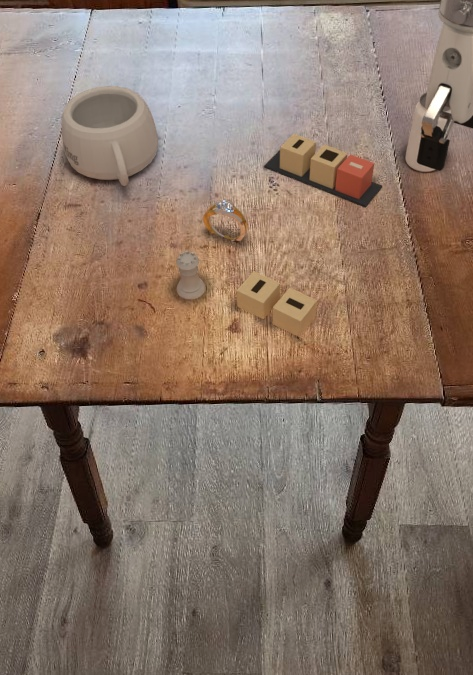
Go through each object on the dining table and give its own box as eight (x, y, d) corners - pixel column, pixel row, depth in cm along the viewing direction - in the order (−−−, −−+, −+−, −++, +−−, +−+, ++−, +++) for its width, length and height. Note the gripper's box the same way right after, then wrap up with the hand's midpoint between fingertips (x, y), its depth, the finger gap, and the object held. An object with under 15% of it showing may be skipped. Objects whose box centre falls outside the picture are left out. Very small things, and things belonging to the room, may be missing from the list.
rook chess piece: (195, 279, 103) (191, 241, 97) (212, 296, 101) (209, 258, 95) (171, 292, 102) (165, 254, 96) (187, 310, 100) (182, 273, 93)
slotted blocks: (359, 338, 95) (363, 316, 91) (339, 368, 92) (342, 346, 89) (241, 282, 103) (240, 259, 99) (219, 308, 100) (217, 285, 96)
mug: (61, 139, 126) (47, 91, 119) (148, 120, 129) (141, 72, 121) (80, 212, 114) (66, 163, 106) (176, 190, 116) (170, 141, 109)
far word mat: (382, 187, 115) (386, 163, 111) (365, 207, 112) (369, 183, 108) (281, 149, 122) (282, 125, 119) (263, 167, 120) (263, 143, 116)
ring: (250, 242, 108) (249, 204, 102) (240, 255, 106) (238, 217, 100) (212, 228, 110) (209, 190, 104) (202, 241, 109) (198, 202, 102)
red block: (371, 184, 115) (374, 162, 111) (358, 199, 113) (361, 177, 109) (347, 175, 117) (350, 153, 113) (334, 190, 115) (337, 168, 111)
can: (437, 149, 121) (452, 88, 112) (446, 172, 117) (462, 111, 108) (401, 151, 121) (412, 90, 111) (409, 174, 117) (422, 113, 108)
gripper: (480, 48, 63) (446, 194, 76) (545, -25, 71) (504, 118, 85) (406, 29, 66) (386, 173, 79) (477, -39, 74) (447, 101, 88)
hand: (447, 144), depth 82 cm, fingers open, 9 cm apart
